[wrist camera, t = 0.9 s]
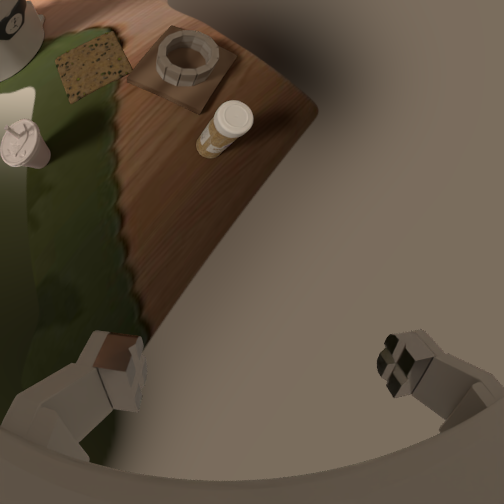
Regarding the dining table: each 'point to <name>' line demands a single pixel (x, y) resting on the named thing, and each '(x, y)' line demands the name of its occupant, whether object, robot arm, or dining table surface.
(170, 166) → the dining table surface
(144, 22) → the dining table surface
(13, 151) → the smoothie
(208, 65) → the collar stand
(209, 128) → the sprinkles bottle
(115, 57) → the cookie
